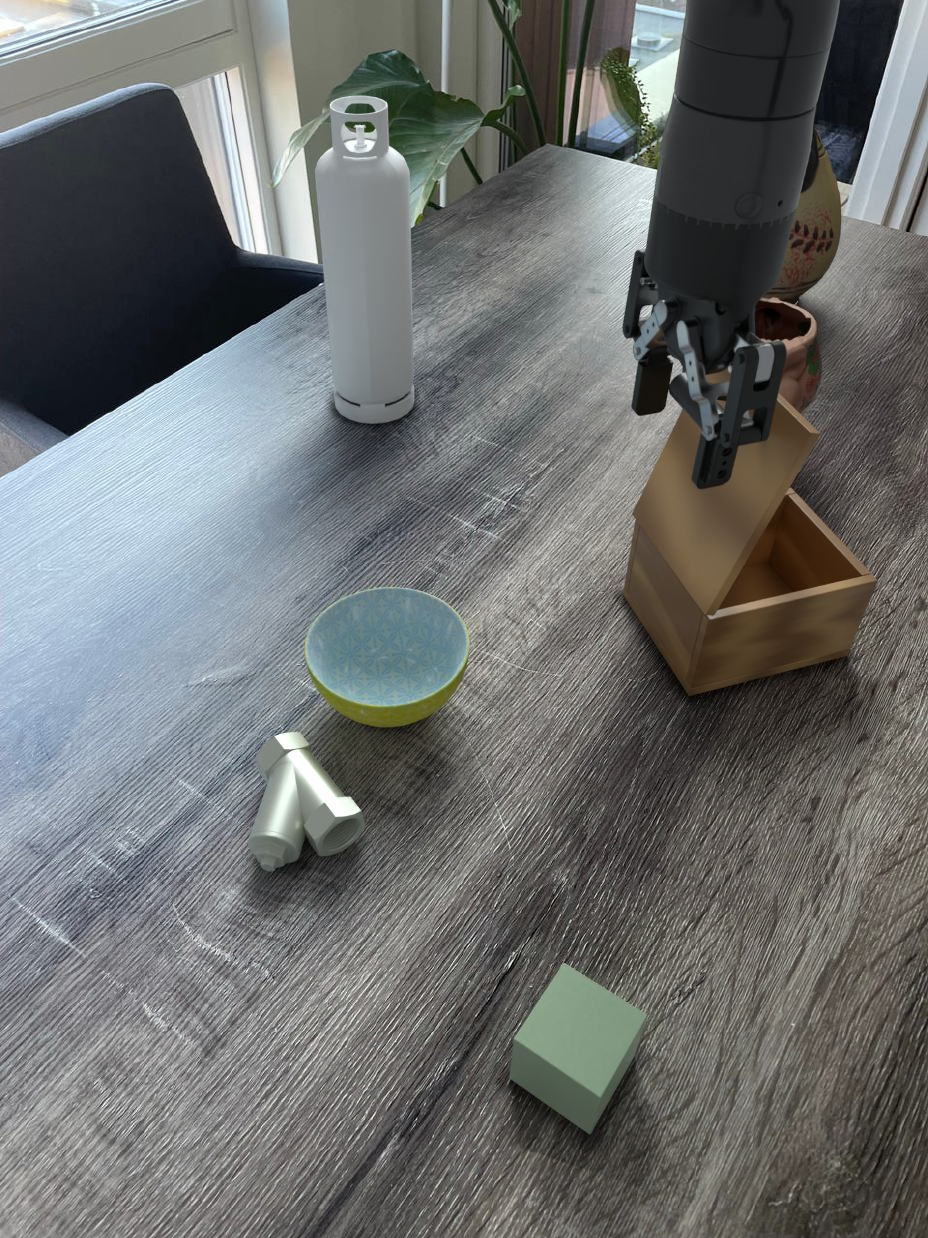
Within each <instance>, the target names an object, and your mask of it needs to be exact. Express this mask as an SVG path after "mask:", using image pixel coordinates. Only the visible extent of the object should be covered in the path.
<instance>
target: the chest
mask: <svg viewBox="0 0 928 1238" xmlns="http://www.w3.org/2000/svg"><path fill="white" fill-rule="evenodd" d="M878 582H879V581H878V579H877V578H876V577H875V575H873V574H872V573H871V571H870V570H869V569H868V568H867V567H866V566H865V565H864V564H863V563H862V562H861V560H859V559H858V558H857V556H856V555H855V554H854V553H853V552H852V551H851V550H850V548H848V547H847V546H846V545H845V544H844V543H843V541H842V540H841V539H840V538H839V537H838V536H837V535H836V533H834V531H832V530H831V528H829V526H828V525H827V524H826V523H825V522H824V521H823V520H822V519H821V517H820V516H818V515H817V513H816V512H815V511H814V510H813V509H812V508H811V507H810V506H809V505H808V504H807V503H806V502H805V501H804V500H803V498H802V497H801V496H800V495H799V494H798V493H797V492H796V491H795V490H794V489H793V488H792V487H790V488H789V489H788V491H787V493H786V494H785V496H784V498H783V500H782V501H781V503H780V505H779V506H778V508H777V510H776V511H775V513H774V515H773V517H772V518H771V520H770V522H769V523H768V525H767V527H766V528H765V530H764V532H763V534H762V535H761V537H760V539H759V540H758V542H757V544H756V545H755V547H754V549H753V551H752V552H751V554H750V556H749V557H748V559H747V561H746V562H745V564H744V566H743V568H742V569H741V571H740V573H739V574H738V576H737V578H736V579H735V581H734V583H733V585H732V586H731V588H730V590H729V591H728V593H727V595H726V596H725V598H724V600H723V602H722V603H721V605H720V607H719V608H718V610H717V612H716V613H715V615H714V616H712V615H705V614H704V613H703V612H702V610H701V609H700V607H699V606H698V605H697V603H696V602H695V601H694V599H693V598H692V596H691V595H690V594H689V592H688V591H687V589H686V588H685V587H684V585H683V584H682V583H681V581H680V580H679V578H678V577H677V576H676V574H675V573H674V571H673V570H672V569H671V567H670V566H669V565H668V563H667V562H666V560H665V559H664V558H663V556H662V555H661V553H660V552H659V551H658V549H657V548H656V547H655V545H654V544H653V542H652V541H651V540H650V538H649V537H648V535H647V534H646V533H645V531H644V530H643V529H642V527H641V526H640V524H639V523H638V522H637V520H636V519H635V520H634V526H633V532H632V539H631V544H630V549H629V555H628V561H627V567H626V573H625V578H624V585H623V590H622V596H623V597H624V599H625V601H626V602H627V603H628V605H629V607H630V608H631V610H632V611H633V612H634V614H635V615H636V617H637V618H638V621H639V622H640V623H641V624H642V626H643V628H644V629H645V631H646V632H647V634H648V635H649V637H650V638H651V640H652V642H653V643H654V645H655V647H657V649H658V651H659V652H660V654H661V655H662V657H663V659H664V660H665V662H666V663H667V665H668V666H669V668H670V669H671V670H672V673H673V674H674V675H675V677H676V679H677V680H678V681H679V683H680V684H681V686H682V688H683V689H684V691H685V692H686V694H687V695H688V696H689V697H691V696H696V695H698V694H702V693H707V692H711V691H714V690H718V689H723V688H726V687H729V686H730V687H731V686H735V685H738V684H742V683H746V682H750V681H754V680H758V679H762V678H765V677H770V676H774V675H777V674H782V673H785V672H790V671H794V670H798V669H802V668H806V667H809V666H813V665H817V664H821V663H825V662H828V661H832V660H836V659H837V660H838V659H840V658H845V657H847V656H848V655H849V653H850V650H851V648H852V645H853V643H854V641H855V638H856V636H857V633H858V630H859V628H860V627H861V623H862V621H863V619H864V616H865V614H866V612H867V609H868V607H869V604H870V602H871V599H872V596H873V594H874V592H875V589H876V587H877V585H878Z"/></svg>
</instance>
